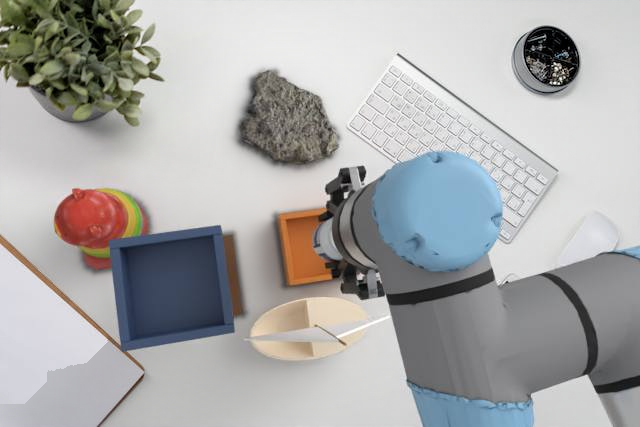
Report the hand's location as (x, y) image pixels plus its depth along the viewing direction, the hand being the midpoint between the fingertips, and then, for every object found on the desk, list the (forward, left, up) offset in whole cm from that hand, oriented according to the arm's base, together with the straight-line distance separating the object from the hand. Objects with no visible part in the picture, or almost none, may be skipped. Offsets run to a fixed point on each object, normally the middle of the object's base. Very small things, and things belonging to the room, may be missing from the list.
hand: (331, 240), depth 69 cm
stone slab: (+20, 0, -14) cm, 24 cm away
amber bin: (0, 0, -14) cm, 14 cm away
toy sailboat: (-12, +2, -14) cm, 19 cm away
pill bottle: (0, 0, -1) cm, 1 cm away
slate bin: (-3, +18, -14) cm, 23 cm away
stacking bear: (+7, +29, -14) cm, 33 cm away
